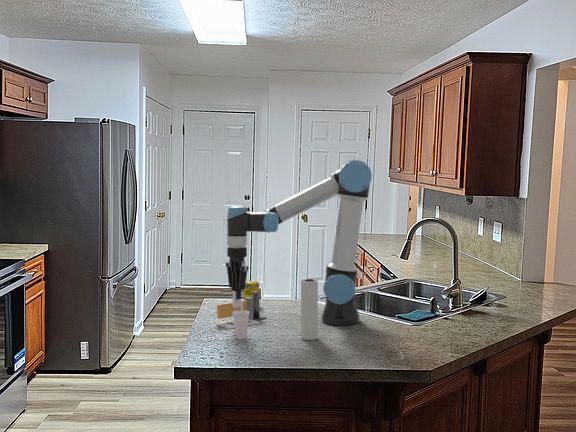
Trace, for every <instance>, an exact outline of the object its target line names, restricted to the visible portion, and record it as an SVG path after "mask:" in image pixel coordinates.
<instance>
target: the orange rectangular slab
mask: <svg viewBox="0 0 576 432" xmlns="http://www.w3.org/2000/svg"><path fill="white" fill-rule="evenodd" d="M237 310H241V307H237V308H234V307H233V301H230V302H225V303H224V302H223V303H217V304H216V315H217V317H216V318H217V319H225V318H226V319H227V318H232V317H233V315H232V312H233V311H237ZM242 310H246V311H249V312H250V315H249V318H251V317H252V315H253V308H252V298H251V297H245V300H244V299H242ZM233 318H234V317H233Z"/></svg>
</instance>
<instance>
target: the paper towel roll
mask: <svg viewBox="0 0 576 432" xmlns="http://www.w3.org/2000/svg"><path fill="white" fill-rule="evenodd" d="M318 285H319V281H318V279H313V278H307V279H301V280H300V337H301V338H300V339H302V340H306V341H314V340H318V335H319V334H318V333H319V329H318V327H319V326H318V322H319V321H318V320H319V319H318V318H319V317H318V316H319V310H318V309H319V308H318V307H319V304H318V303H319V302H318V299H319V298H318V297H319V296H318V295H319V294H318V293H319V288H318V287H319V286H318Z"/></svg>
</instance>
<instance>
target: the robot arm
mask: <svg viewBox="0 0 576 432" xmlns="http://www.w3.org/2000/svg"><path fill="white" fill-rule="evenodd" d="M330 175H331V176H330V177H328V178H327V179H324V180H322V181H320V182H319V183H317V184H314V185H313V186H310V187H309V188H308V187H307V188H306V189H304V190H302V191H301V192H298V193H297V194H294V195H292V196H291V197H288V198H287V199H284V200H283V201H281V202H279V203H277V204H275V205H273V206H271V207H269V208H266V209H263V210H262V211H258V212H257V211H248V208H247V207H246V206H241V205H240V206H239V205H237V206H235V205H234V206H229V207H228V209H227V218H226V220H227V223H226V225H227V227H226V228H227V231H226V232H227V234H226V236H227V239H226V240H227V241H226V245H227V248H226V249H227V250H226V254H227V255H226V256H227V258H229V259H228V260H229V262H225V266H226V271H227V280H228V287H229V288H231V291H232V302H233V307H234V308H237V307H241V300H242V291H244V289H245V283H246V282H247V274H248V270H249V266H248V265H246V263H245V262H246V261H245V258H246V257H247V255H248V248H247V247H246V246H247V245H248V242H247V239H248V232H254V233H255V232H260V233H277V231H278V229H279V225H281V224H283V223H284V222H286V221H288V220H290V219H291V218H294V217H296V216H298V215H300V214H302V213H304V212H306V211H308V210H311V209H312V208H314V207H317V206H318V205H320V204H322V203H324V202H327V201H328V200H330V199H332V198H335V197H336V196H337V197H339V207H338V214H337V222H336V227H335V228H336V229H335V234H334V235H335V236H334V244H333V250H332V256H331V262H329V263H328V264H327V265H326V268H325V279H324V283H323V286H322V287H323V294H324V295H325V305H324V308H323V311H322V314H321V322H322V323H323V324H325V325H333V326H351V325H352V326H353V325H356V324H359V322H360V313H359V311H358V308H357V304H356V283H357V276H358V270H359V269H358V268H357V267H356V265H355V263H356V254H357V249H358V242H359V241H358V240H359V234H360V228H361V227H360V226H361V221H362V213H363V212H362V211H363V206H364V202H365V201H366V200H368V199H369V195H370V194H369V192H370V187H371V186H370V185H371V183H372V175H373V174H372V170H371V168H370V167H369V165H368V164H367V163H366V162H365V161H362V160H360V159H352V160H348V161H347V162H345V163H344V164H343V165H342V166H341V167H340V168H339V169H338V170H336V171H334V172H332V173H331V174H330Z"/></svg>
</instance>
